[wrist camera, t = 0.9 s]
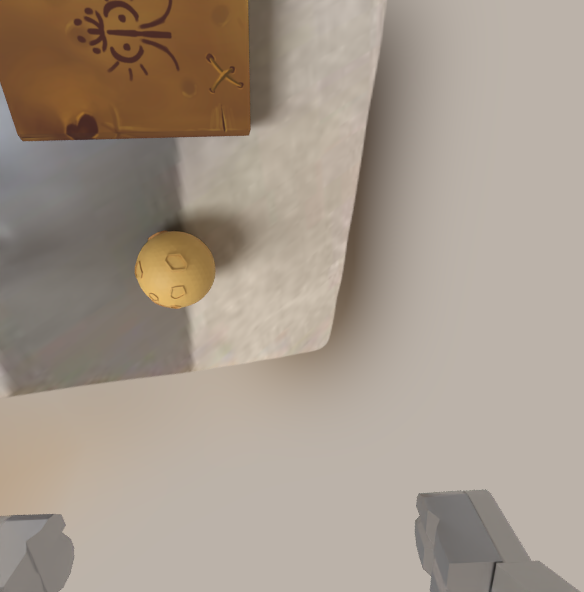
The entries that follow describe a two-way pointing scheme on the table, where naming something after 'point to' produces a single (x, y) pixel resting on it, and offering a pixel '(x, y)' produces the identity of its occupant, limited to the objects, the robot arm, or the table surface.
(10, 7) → the diary
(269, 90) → the table surface
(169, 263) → the stress ball
